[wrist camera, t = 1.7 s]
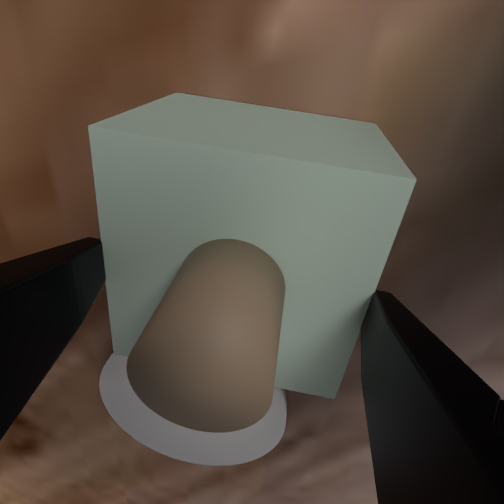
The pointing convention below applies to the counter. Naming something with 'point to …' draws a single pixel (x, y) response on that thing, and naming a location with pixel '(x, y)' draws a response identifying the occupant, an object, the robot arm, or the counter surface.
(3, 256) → the counter surface
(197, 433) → the saucer
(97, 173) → the sage camera
